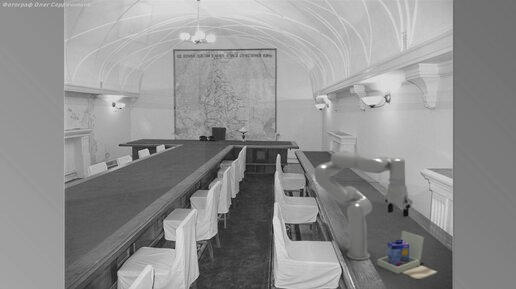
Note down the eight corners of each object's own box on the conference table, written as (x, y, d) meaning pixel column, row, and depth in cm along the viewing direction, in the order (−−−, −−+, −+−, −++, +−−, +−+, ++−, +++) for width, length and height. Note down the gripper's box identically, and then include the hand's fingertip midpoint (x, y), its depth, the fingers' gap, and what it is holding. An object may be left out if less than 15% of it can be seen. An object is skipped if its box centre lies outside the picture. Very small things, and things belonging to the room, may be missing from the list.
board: (402, 273, 177) (402, 272, 177) (421, 266, 184) (420, 265, 184) (418, 280, 169) (418, 278, 169) (436, 272, 176) (436, 271, 176)
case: (377, 264, 188) (377, 238, 187) (403, 256, 198) (403, 230, 197) (397, 273, 177) (397, 245, 176) (424, 263, 187) (424, 236, 186)
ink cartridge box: (392, 268, 183) (392, 241, 182) (387, 264, 189) (386, 237, 188) (410, 266, 185) (409, 239, 184) (404, 262, 190) (404, 236, 189)
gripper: (379, 180, 189) (380, 212, 190) (406, 185, 174) (407, 219, 175) (389, 178, 193) (389, 209, 194) (416, 183, 177) (417, 216, 179)
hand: (398, 214), depth 185 cm, fingers open, 9 cm apart
